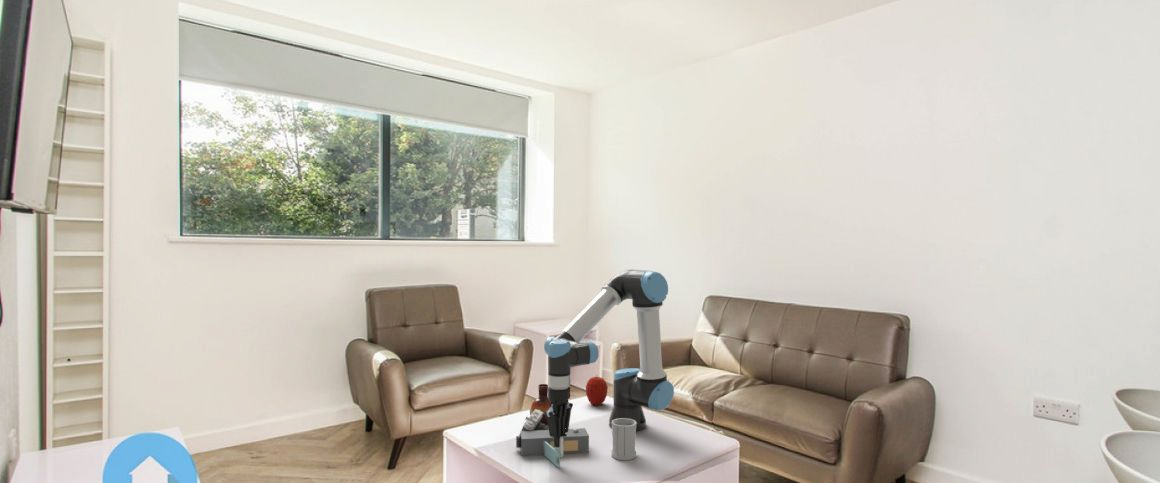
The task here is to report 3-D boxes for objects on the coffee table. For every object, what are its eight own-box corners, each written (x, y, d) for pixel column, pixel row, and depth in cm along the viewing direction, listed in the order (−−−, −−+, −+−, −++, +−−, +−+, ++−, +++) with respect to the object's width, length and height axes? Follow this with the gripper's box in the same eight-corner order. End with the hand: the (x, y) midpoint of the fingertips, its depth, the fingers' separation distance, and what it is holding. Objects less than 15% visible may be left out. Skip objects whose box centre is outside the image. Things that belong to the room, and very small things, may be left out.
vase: (555, 426, 226) (555, 389, 226) (528, 426, 226) (528, 388, 226) (556, 418, 237) (557, 382, 237) (531, 417, 237) (531, 381, 237)
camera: (513, 441, 205) (524, 417, 204) (526, 425, 221) (536, 403, 220) (535, 453, 204) (546, 429, 203) (546, 436, 219) (557, 414, 218)
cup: (610, 449, 202) (611, 416, 202) (635, 449, 202) (636, 416, 202) (611, 460, 192) (611, 426, 192) (637, 461, 192) (638, 426, 192)
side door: (560, 467, 185) (560, 453, 185) (557, 468, 184) (557, 453, 184) (545, 453, 196) (545, 440, 196) (542, 454, 196) (542, 440, 196)
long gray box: (584, 444, 207) (585, 426, 207) (588, 452, 199) (589, 433, 199) (515, 447, 203) (516, 429, 203) (517, 456, 195) (517, 437, 195)
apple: (607, 408, 251) (607, 377, 251) (585, 407, 252) (585, 377, 252) (607, 401, 262) (607, 372, 261) (586, 401, 262) (586, 371, 262)
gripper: (561, 380, 196) (561, 447, 196) (538, 389, 185) (538, 459, 185) (579, 384, 191) (579, 452, 192) (556, 392, 181) (556, 464, 181)
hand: (559, 455), depth 189 cm, fingers closed
